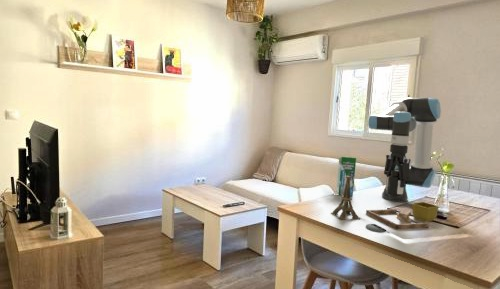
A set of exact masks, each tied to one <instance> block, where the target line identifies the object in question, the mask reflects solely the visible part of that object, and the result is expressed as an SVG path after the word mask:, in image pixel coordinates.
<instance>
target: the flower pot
mask: <svg viewBox="0 0 500 289" xmlns="http://www.w3.org/2000/svg"><path fill="white" fill-rule="evenodd" d="M411 205H412V211H411V212H412V216H413V218H414V219H416V220H419V221H422V222H423V223H429V222H433V221H434V220H435V219H436V216H438V215H437V214H438V210H439V207H440V206H438V205H435V204H432V203H428V202H426V201H420V202H412V203H411Z"/></svg>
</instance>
